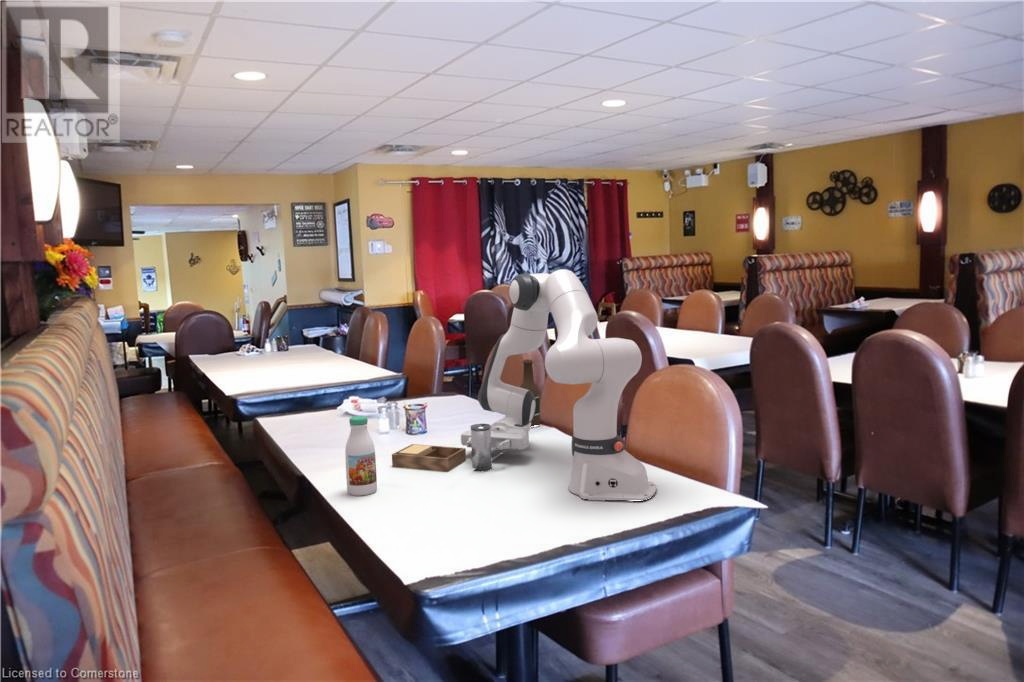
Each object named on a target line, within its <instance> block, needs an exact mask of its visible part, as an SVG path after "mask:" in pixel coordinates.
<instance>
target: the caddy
mask: <svg viewBox="0 0 1024 682" xmlns="http://www.w3.org/2000/svg"><path fill="white" fill-rule="evenodd" d="M413 445H419V444H418V443H415V444H414V443H411V444H410V445H408V446H405V447H404V448H401V449H399V450H398V451H394V452H393V453H392V454H391V461H392V462H391V464H392V468H400V469H402V468H403V469H410V470H411V469H412V470H420V471H421V470H422V471H432V472H433V471H434V472H443V473H448V472H450V471H452V470H454V469H455V468H457V467H458V466H460V465H461V464H463V463H464V462H466V461H467V455H466V454H467V453H466V451H467V449H466V447H455V446H454V447H453V446H443V445H442V446H441V445H440V446H439V445H428V444H424V445H425V446H432V451H430V452H428V453H426V454H424V455H423V456H415V455H404V454H399V452H401V451H403V450H405V449H407V448H409V447H411V446H413Z"/></svg>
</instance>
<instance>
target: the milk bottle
mask: <svg viewBox="0 0 1024 682" xmlns="http://www.w3.org/2000/svg"><path fill="white" fill-rule="evenodd" d="M348 423H349V427H350V432H349V436H348V439H347V442H346V444H345V450H344V451H345V458H344V459H345V474H346V489H347V493H348V494H349V495H350V496H359V497H360V496H361V497H362V496H368V495H371V494H374V493H376V491H377V490H378V480H377V462H376V460H377V459H376V449H375V444H374V441H373V438H372V436H371V435H370V433H369V430H368V425H369V424H368V417H367V416H365V415H355V416H352V417H350V418H349V421H348Z"/></svg>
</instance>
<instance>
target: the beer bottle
mask: <svg viewBox="0 0 1024 682" xmlns="http://www.w3.org/2000/svg"><path fill="white" fill-rule="evenodd" d="M522 361H523V362H522V364H523V373H522V374H523V375H522V376H523V377H522V378H523V379H522V382H521V384H520V386H519V387H520V388H524V389H527V390H530V391H531V392H532V393H533V395H534V397H535V399H536V412H535V415H534V418H533V420H532V421H531V426H534V425H541V415H540V414H541V413H540V412H541V411H540V409H541V408H540V407H541V406H540V391H539V388H538V385H537V384H536V383H535V380H534V379H535V378H534V369H533V363H534V362H533V361H534V360H532V359H524V360H522Z"/></svg>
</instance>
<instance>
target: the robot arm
mask: <svg viewBox="0 0 1024 682" xmlns="http://www.w3.org/2000/svg"><path fill="white" fill-rule="evenodd" d="M508 287H509V288H508V297H509V300H510V304H511V305H512V307H513V310H512V315H511V320H510V324H509V325H510V326H509V328H508V330H507V331H506V333H504V334H501V335H500V336H499V337H498V339H497V341H496V343H495V345H494V349H493V350H492V354H491V357H490V360H489V363H488V366H487V370H486V373H485V376H484V378H483V382H482V384H481V386H480V388H479V391H478V394H477V401H478V403H479V405H480V407H481V408H482V409H483V411H488V412H492V413H497V414H500V415H503V417H502V418H500V419H499V420H496V421H495V422H493V423H492V424H490V425H491V428H490V429H491V449H492V448H494V449H496V450H499V451H505V450H525V449H526V448H528V447H529V443H530V441H529V440H530V435H529V431H530V430H531V428H530V427H531V421H532V420H533V418H534V415H535V412H536V399H535V397H534V395H533V393H532V392H531V391H530V390H527V389H524V388H520V386H515V385H512V384H509V383H505V382H503V381H502V380H501V377H502V373H503V370H504V366H505V365H506V361H507V360H508V359H507V358H508V357H509V356H510V357H511V356H514V355H515V356H516V355H522V354H524V355H525V354H528V353H532V352H535V351H537V349H539V348H540V347H542V345H543V344H544V342H545V339H546V336H547V335H546V334H547V329H548V322H549V314H551V316H552V319H553V321H554V324H555V327H556V330H557V331H556V332H557V339H556V340H555V342H554V344H552V345H551V346H550V347H549V349H548V350H547V352H546V354H545V358H544V368H545V372H546V373H547V375H548V378H550V379H551V380H552V381H553V382H554V383H557V384H564V385H580V384H591V386H590V387H589V389H588V391H587V392H586V393H585V394H584V395H583V396H582V397H581V398H579V399H577V401H575V403H574V405H573V409H572V419H573V421H572V423H573V427H572V428H573V429H572V431H573V434H572V435H571V453H572V465H571V466H572V469H571V474H570V475H571V476H570V480H569V484H568V487H567V488H568V489H567V490H568V491H570V492H571V493H572V494H574V495H577V496H578V497H580V498H581V499H582V498H583V499H582V500H584V499H588V500H587V501H605V500H641V501H642V500H646V499H648V498H650V497H652V496H653V495H654V494H655V492H656V493H657V491H656V489H657V485H656V483H655V482H653V481H649V479H648V473H647V470H646V467H645V465H644V464H643V463H642V462H641V461H640V460H638V458H636V457H634V456H633V455H632V454H631V453H629V452H628V451H627V450H626V449H625V444H626V443H625V442H626V437H625V436H624V437H623V438H622V437H621V436H620V435H618V433H617V430H618V427H617V423H618V421H617V420H618V407H619V402H620V398H621V396H622V393H623V391H624V389H625V388H626V386H627V384H628V383H629V382H630V381H631V380H632V379H633V378H634V376H637V374H638V373H639V371H640V369H641V367H642V360H643V357H642V352H641V349H640V347H639V346H638V345H637V343H636V342H635V341H633V340H632V339H627V338H621V337H607V338H589V337H590V336H591V334H592V333H594V332H595V330H596V328H597V326H598V322H599V318H598V317H599V316H598V314H597V311H596V309H595V308H594V305H593V302H592V300H591V298H590V295H589V293H588V291H587V290H586V288H585V286H584V285H583V283H582V281H581V280H580V279H579V277H578V276H577V275H576V274H575V273H574V272H573V271H572V270H569V269H566V268H563V269H562V268H561V269H556V270H554V271H553V272H551V273H548V272H547V273H544V272H542V273H539V272H538V273H520V274H517V275H515V276H514V277H513V278H512V279H511V281H510V284H509V286H508ZM460 444H461V445H462V446H466V447H467V448H472V445H471V429H468V430H466V431H464V432H462V433H461V434H460ZM657 490H658V489H657ZM655 495H656V494H655ZM655 495H654V496H655ZM654 496H653V497H654ZM653 497H652V498H653Z"/></svg>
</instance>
